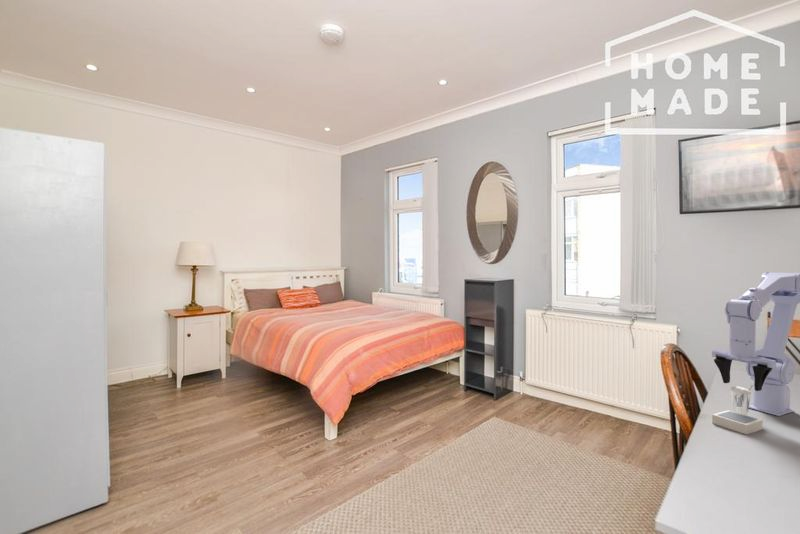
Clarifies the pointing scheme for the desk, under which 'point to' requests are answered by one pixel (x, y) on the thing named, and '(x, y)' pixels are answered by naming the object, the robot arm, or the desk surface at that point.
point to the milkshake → (740, 399)
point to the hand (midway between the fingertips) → (741, 386)
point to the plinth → (737, 422)
